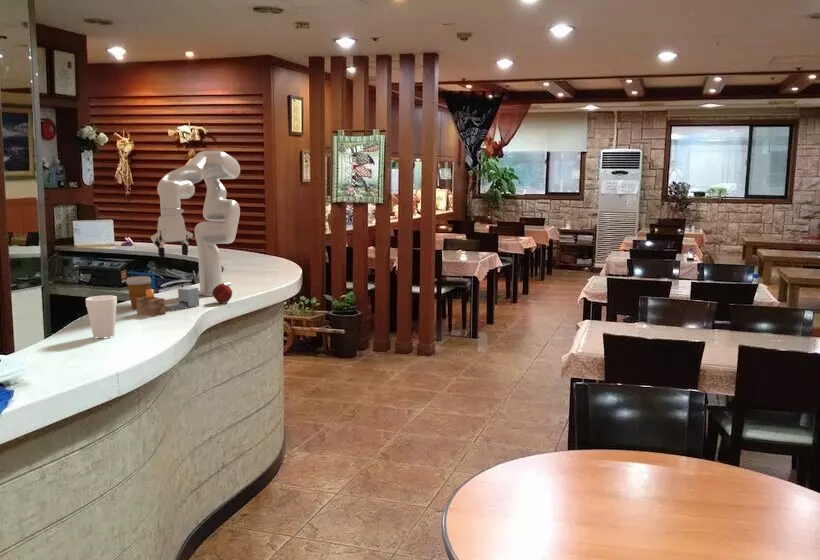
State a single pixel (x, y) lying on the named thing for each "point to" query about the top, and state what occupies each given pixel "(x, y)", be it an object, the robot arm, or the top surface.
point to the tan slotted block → (150, 306)
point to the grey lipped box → (189, 295)
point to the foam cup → (102, 315)
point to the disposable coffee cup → (137, 288)
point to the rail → (176, 306)
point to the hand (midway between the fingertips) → (173, 256)
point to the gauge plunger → (150, 294)
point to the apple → (222, 293)
